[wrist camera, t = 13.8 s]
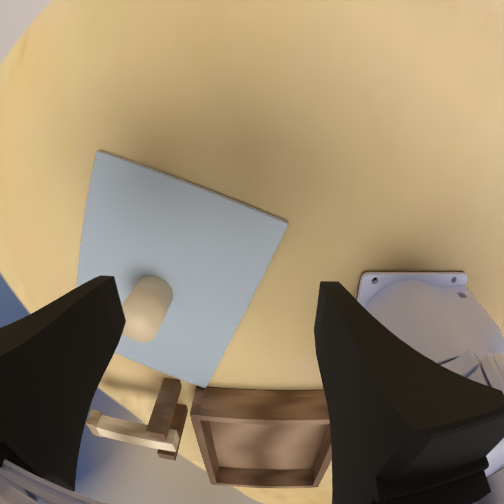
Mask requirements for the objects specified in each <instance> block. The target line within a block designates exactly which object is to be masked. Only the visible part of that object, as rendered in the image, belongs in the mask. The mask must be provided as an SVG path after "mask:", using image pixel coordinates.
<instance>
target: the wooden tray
mask: <svg viewBox="0 0 504 504" xmlns="http://www.w3.org/2000/svg"><path fill="white" fill-rule="evenodd" d="M180 390H181V383H180V380H173V379H165V378H164V380H163V383H162V386H161V389H160V391H159V394H158V397H157V400H156V403H155V406H154V409H153V412H152V415H151V417H150V420H149V423H148V426H147V429H146V432H147V434H148V436H149V437H152V438H157V439H163V440H166V439H167V436H168V432H169V429H173V430H177V433H178V435H179V438H180V439H179V443H178V447H177V451H176V452H173V451H167V450H161V449H158V452H157V454H158V455H159V457H160V458H165V459H171V460H176V456H177V452H178V448H179V444H180V440H181V436H182V432H183V428H184V424H185V420H186V416H187V412H188V410H187V406H186V405H178V404H177V401H178V397H179V394H180ZM190 416H191V420H192V424H193V427H194V431H195V434H196V438H197V441H198V444H199V448H200V451H201V454H202V458H203V461H204V464H205V467H206V470H207V473H208V476H209V479H210V482H211V484H214V485H224V486H236V487H252V488H310V487H318V486H319V484H320V482H321V480H322V478H323V476H324V474H325V472H326V470H327V468H328V466H329V464H330V461H331V459H332V450H331V433H330V421H329V413H328V407H327V402H326V397H325V392H324V390H311V391H276V390H246V389H228V388H215V387H206V388H203V387H200V386H197V388H196V392H195V396H194V400H193V404H192V408H191V412H190Z"/></svg>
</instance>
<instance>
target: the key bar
mask: <svg viewBox="0 0 504 504" xmlns="http://www.w3.org/2000/svg"><path fill="white" fill-rule="evenodd" d="M86 424H87V426H88V427H89V428H90V430H91V431H92V433H93V434H94V435H96V436H100V437H103V436H104V437H108V438H112V439H115V440H119V441H123V442H127V443H132V444H136V445H141V446H146V447H150V448H156V449H161V450H167V451H173V452H176V451H177V447H178V443H179V439H180V438H179V435H178V433H177V430H173V429H169V432H168V436H167V439H166V440H163V439H157V438H152V437H149V436H148V434H147V432H146V429H147V426H148V425H144V424H139V423H134V422H129V421H125V420H120V419H116V418H112V417H107V416H103V415H102V413H101V412H100V411H96V410H92V411H91V413H90V415H89V417H88V419H87V421H86Z"/></svg>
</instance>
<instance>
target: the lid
mask: <svg viewBox="0 0 504 504" xmlns="http://www.w3.org/2000/svg"><path fill="white" fill-rule="evenodd" d="M287 226H288V221H285V220H283V219H280V218H278V217H276V216H273V215H271V214H268V213H266V212H263V211H261V210H258V209H256V208H254V207H251V206H249V205H246V204H244V203H241V202H239V201H236V200H234V199H231V198H229V197H226V196H223V195H221V194H218V193H216V192H213V191H211V190H208V189H205V188H203V187H200V186H198V185H195V184H192V183H190V182H187V181H185V180H182V179H179V178H177V177H174V176H171V175H168V174H166V173H163V172H160V171H158V170H155V169H152V168H149V167H147V166H144V165H141V164H138V163H136V162H133V161H130V160H127V159H124V158H121V157H119V156H116V155H113V154H110V153H107V152H104V151H101V150H99V151H97V153H96V158H95V162H94V167H93V171H92V176H91V181H90V186H89V192H88V197H87V203H86V209H85V215H84V222H83V229H82V237H81V245H80V254H79V264H78V276H77V287H79V286H80V285H82V284H84V283H86V282H87V281H89V280H91V279H93V278H95V277H98V276H100V275H103V276H114V277H115V281H116V285H117V289H118V293H119V297H120V301H121V305H122V308H123V312H124V316H125V319H126V323H125V326H124V329H123V332H122V335H121V338H120V341H119V344H118V346H117V348H116V350H115V353H117V354H119V355H121V356H123V357H126V358H128V359H130V360H133V361H135V362H137V363H140V364H142V365H145V366H147V367H149V368H152V369H154V370H157V371H159V372H162V373H165V374H167V375H170V376H172V377H175V378H178V379H181V380H183V381H186V382H189V383H192V384H195V385H197V386H200V387H203V388H206V387H207V385H208V383H209V381H210V379H211V377H212V375H213V373H214V372H215V370H216V368H217V366H218V364H219V362H220V360H221V358H222V356H223V354H224V352H225V350H226V348H227V346H228V344H229V342H230V340H231V339H232V337H233V335H234V333H235V331H236V329H237V327H238V325H239V323H240V321H241V319H242V317H243V315H244V313H245V311H246V309H247V307H248V305H249V303H250V301H251V299H252V297H253V295H254V293H255V291H256V289H257V287H258V285H259V283H260V281H261V279H262V277H263V275H264V273H265V271H266V269H267V267H268V265H269V263H270V261H271V259H272V257H273V255H274V253H275V251H276V249H277V247H278V245H279V243H280V240H281V238H282V236H283V234H284V232H285V230H286V228H287Z"/></svg>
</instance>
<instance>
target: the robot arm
mask: <svg viewBox="0 0 504 504" xmlns="http://www.w3.org/2000/svg"><path fill="white" fill-rule="evenodd" d="M375 277H376V278H377V279H376V280H375V281H372V279H373V278H375ZM452 278H454V279H453V280H452ZM467 280H468V276H467V274H466V273H464V272H366V273H364V274H363V275H362V277H361V280H360V285H359V291H358V296H357V300H356V299H355V298H354V297H353V296H352V295H351V294H350V293H349V292H348V291H347V290H346V289H345V288H344V287H343V286H342V285H341V284H340V283H339V282H320V289H319V297H318V305H317V312H316V319H315V326H314V334H315V346H316V355H317V360H318V365H319V369H320V374H321V378H322V383H323V388H324V392H325V397H326V402H327V407H328V413H329V421H330V433H331V450H332V487H333V493H332V504H504V339H503V336H502V333H501V331H500V329H499V327H498V326H497V324H496V323H495V322H494V320H493V319H492V318H491V317H490V315H489V314H488V313H487V311H486V310H485V309H484V308H483V306H482V305H481V304H480V303H479V302H478V300H477V299H476V298H475V297H474V296H473V294H472V293H471V292H470V291H469V290H468V288H467V287H466V283H467ZM125 323H126V319H125V316H124V312H123V308H122V305H121V301H120V297H119V293H118V289H117V285H116V281H115V277H114V276H103V275H100V276H98V277H95V278H93V279H91V280H89V281H87V282H86V283H84V284H82V285H80V286H79V287H77V288H75V289H73V290H72V291H70V292H68V293H67V294H65V295H63V296H62V297H60V298H58V299H57V300H55V301H53V302H52V303H50V304H48V305H46V306H44V307H43V308H41V309H39V310H37V311H36V312H34V313H32V314H30V315H28V316H26V317H24V318H22V319H20V320H18V321H16V322H14V323H12V324H9V325H7V326H4V327H2V328H0V504H40V503H38V501H37V499H38V500H40V501H42V502H44V503H46V504H107V503H104V502H100V501H98V500H95V499H91V498H89V497H86V496H83V495H81V494H78V493H75V492H74V491H75V478H76V467H77V459H78V454H79V448H80V442H81V438H82V433H83V429H84V425H85V421H86V418H87V414H88V411H89V408H90V405H91V401H92V398H93V396H94V393H95V391H96V389H97V387H98V385H99V383H100V380H101V378H102V376H103V374H104V372H105V370H106V368H107V366H108V364H109V362H110V360H111V358H112V356H113V354H114V352H115V350H116V348H117V346H118V344H119V341H120V338H121V335H122V332H123V329H124V326H125Z"/></svg>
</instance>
